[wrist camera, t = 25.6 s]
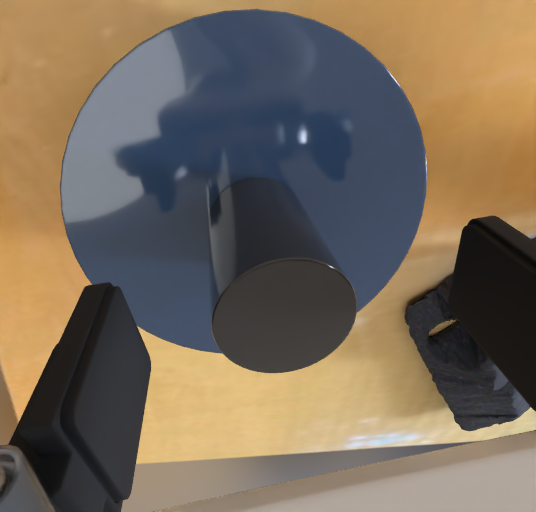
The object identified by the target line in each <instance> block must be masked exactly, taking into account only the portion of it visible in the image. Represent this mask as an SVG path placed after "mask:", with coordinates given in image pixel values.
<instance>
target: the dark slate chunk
mask: <svg viewBox="0 0 536 512" xmlns="http://www.w3.org/2000/svg"><path fill="white" fill-rule="evenodd" d="M533 241H535V242H536V238H535V239H534V240H533ZM452 279H453V274H452V275H451V276H449V277H448V278H447V279H446V280H445V281H444V283H442V284H441V286H440V287H438V289H436V290H431V291H429V293H428V294H427V295H425V296H424V297H423V299H422V300H421V301H418V302H416V303H415V304H414V305H410V306H409V307H408V309H407V311H406V314H405V320H406V321H405V322H406V324H407V325H409V332H410V336H411V337H412V338H413V340H414V342H415V344H416V345H417V348H418V351H419V353H420V355H421V357H422V359H423V361H424V362H425V364H426V367H427V368H429V372H430V373H431V374H432V379H433V381H434V382H435V383H436V386H437V389H438V391H439V393H440V394H441V395H442V396H443V397H444V399H445V401H446V403H447V404H448V406H449V408H450V410H451V411H452V412H453V414H454V419H455V422H456V423H457V424H459V425H460V427H461V429H463V430H466V431H474V430H477V429H480V428H484V427H490V426H492V425H493V424H497V423H498V424H499V425H500V424H502V423H505V422H510V421H513V420H515V419H517V418H519V417H520V416H521V415H522V414H523V413H524V412H526V411H527V410H528V409H529V408H530V407H531V406H530V405H529V404H528V403H527V402H526V401H525V399H524V398H523V397H522V396H521V395H520V393H519V392H518V391H517V390H516V389H515V388H514V386H513V385H512V384H511V383H510V382H509V380H508V379H507V378H506V377H505V376H504V375H503V373H502V372H501V371H500V370H499V369H498V367H497V366H496V365H495V364H494V363H493V362H492V360H491V359H490V358H489V357H488V356H487V354H486V353H485V352H484V351H483V350H482V349H481V347H480V346H479V345H478V344H477V343H476V341H475V340H474V339H473V338H472V337H471V336H470V334H469V333H468V332H467V331H466V330H465V329H464V327H463V326H462V325H461V324H460V323H459V321H457V322H455V323H454V324H453V325H452V326H450V327H448V328H446V329H445V330H443V331H442V332H440V333H439V334H436V335H435V336H433V337H429V336H428V334H429V332H430V331H431V330H432V329H433V328H434V327H436V326H437V325H438V324H440V323H442V322H445V321H448V320H451V319H452V320H455V319H456V318H455V317H454V316H453V314H452V313H451V311H450V309H449V306H448V298H449V293H450V288H451V284H452Z"/></svg>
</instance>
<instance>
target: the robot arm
mask: <svg viewBox="0 0 536 512" xmlns="http://www.w3.org/2000/svg"><path fill="white" fill-rule="evenodd" d="M448 306H449V309H450V311H451V313H452V314H453V316H454V317H455V318H456V319H457V320H458V321H459V323H460V324H461V325H462V326H463V327H464V329H465V330H466V331H467V332H468V333H469V334H470V336H471V337H472V338H473V339H474V340H475V341H476V343H477V344H478V345H479V346H480V347H481V349H482V350H483V351H484V352H485V353H486V354H487V356H488V357H489V358H490V359H491V360H492V362H493V363H494V364H495V365H496V366H497V367H498V369H499V370H500V371H501V372H502V373H503V375H504V376H505V377H506V378H507V379H508V380H509V382H510V383H511V384H512V385H513V386H514V388H515V389H516V390H517V391H518V392H519V393H520V395H521V396H522V397H523V398H524V399H525V401H526V402H527V403H528V404H529V405H530V406H531V408H532V409H533V410H534V411H536V242H535V241H533V240H532V239H530V238H528V237H527V236H525V235H524V234H522V233H521V232H519V231H518V230H516V229H515V228H513V227H512V226H510V225H509V224H507V223H506V222H504V221H503V220H501V219H500V218H498V217H496V216H488V217H482V218H476V219H472V220H470V221H469V223H468V225H467V226H465V227H464V228H463V230H462V234H461V239H460V244H459V249H458V254H457V259H456V264H455V269H454V274H453V279H452V284H451V288H450V293H449V298H448ZM150 372H151V360H150V356H149V354H148V351H147V349H146V347H145V344H144V342H143V340H142V337H141V335H140V333H139V330H138V328H137V325H136V323H135V321H134V318H133V316H132V314H131V311H130V309H129V307H128V304H127V302H126V299H125V297H124V295H123V292H122V290H121V288H120V287H119V286H115V287H113V285H112V284H111V283H110V282H106V283H100V284H94V285H88V286H86V287H85V288H84V289H83V292H82V294H81V296H80V298H79V300H78V302H77V305H76V307H75V309H74V311H73V313H72V315H71V317H70V320H69V322H68V324H67V326H66V328H65V330H64V333H63V335H62V337H61V339H60V341H59V343H58V344H57V345H56V346H55V348H54V349H53V351H52V353H51V355H50V358H49V360H48V362H47V364H46V366H45V368H44V370H43V372H42V375H41V377H40V379H39V381H38V383H37V385H36V387H35V389H34V391H33V394H32V396H31V398H30V400H29V402H28V404H27V406H26V408H25V411H24V413H23V415H22V417H21V419H20V421H19V423H18V425H17V428H16V430H15V432H14V434H13V436H12V438H11V440H10V442H9V444H8V445H1V446H0V512H121V507H122V502H123V500H125V499H128V498H129V496H130V494H131V489H132V484H133V477H134V470H135V465H136V459H137V453H138V446H139V440H140V434H141V428H142V422H143V416H144V409H145V403H146V397H147V391H148V385H149V378H150ZM154 512H536V430H534V431H529V432H524V433H519V434H514V435H509V436H504V437H499V438H494V439H490V440H485V441H480V442H475V443H470V444H465V445H460V446H456V447H451V448H446V449H441V450H436V451H431V452H427V453H422V454H417V455H412V456H407V457H403V458H398V459H393V460H388V461H384V462H379V463H374V464H369V465H365V466H360V467H356V468H350V469H345V470H341V471H336V472H331V473H327V474H322V475H317V476H313V477H308V478H303V479H299V480H294V481H289V482H285V483H280V484H275V485H271V486H266V487H261V488H257V489H252V490H247V491H243V492H238V493H233V494H229V495H224V496H219V497H215V498H210V499H205V500H201V501H196V502H192V503H188V504H184V505H180V506H175V507H171V508H166V509H162V510H158V511H154Z"/></svg>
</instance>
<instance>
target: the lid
mask: <svg viewBox="0 0 536 512" xmlns="http://www.w3.org/2000/svg"><path fill="white" fill-rule="evenodd" d="M426 187H427V163H426V151H425V146H424V142H423V137H422V133H421V129H420V126H419V123H418V121H417V118H416V115H415V113H414V110H413V108H412V105H411V104H410V102H409V100H408V98H407V97H406V95H405V93H404V91H403V90H402V88H401V86H400V85H399V83H398V82H397V81H396V80H395V78H394V77H393V76H392V74H391V73H390V72H389V71H388V69H387V68H386V67H385V66H384V65H383V64H382V63H381V62H380V61H379V60H378V59H377V58H376V57H375V56H374V55H372V54H371V53H370V52H369V51H368V50H367V49H366V48H365V47H363V46H362V45H360V44H359V43H357V42H356V41H354V40H353V39H351V38H350V37H348V36H347V35H345V34H344V33H342V32H340V31H338V30H336V29H334V28H332V27H329V26H327V25H325V24H323V23H320V22H318V21H316V20H313V19H309V18H305V17H302V16H298V15H294V14H291V13H287V12H278V11H269V10H259V9H250V10H232V11H222V12H217V13H213V14H208V15H203V16H199V17H194V18H192V19H189V20H187V21H184V22H181V23H179V24H176V25H174V26H171V27H168V28H166V29H164V30H162V31H160V32H159V33H157V34H155V35H154V36H152V37H150V38H148V39H147V40H145V41H143V42H142V43H140V44H138V45H137V46H136V47H135V48H133V49H132V50H131V51H130V52H128V53H127V54H126V55H125V56H124V57H122V58H121V59H120V60H119V61H117V62H116V63H115V64H114V65H113V66H112V67H111V68H110V70H109V71H108V72H107V73H106V74H105V75H104V76H103V78H102V79H101V80H100V81H99V82H98V83H97V84H96V85H95V87H94V88H93V90H92V91H91V93H90V95H89V96H88V98H87V99H86V101H85V103H84V104H83V106H82V107H81V109H80V110H79V113H78V115H77V117H76V120H75V122H74V125H73V127H72V129H71V132H70V134H69V136H68V140H67V144H66V148H65V152H64V156H63V160H62V170H61V181H60V195H61V209H62V215H63V220H64V224H65V229H66V233H67V237H68V239H69V242H70V244H71V247H72V250H73V252H74V255H75V257H76V259H77V261H78V263H79V264H80V266H81V268H82V270H83V272H84V273H85V275H86V277H87V278H88V279H89V281H90V282H91V283H92V285H94V284H100V283H106V282H110V283H111V284H112V285H113V287H115V286H119V287H120V288H121V290H122V292H123V295H124V297H125V299H126V302H127V304H128V307H129V309H130V311H131V314H132V316H133V318H134V321H135V323H136V325H137V326H138V327H140V328H142V329H143V330H145V331H146V332H149V333H151V334H153V335H155V336H157V337H159V338H161V339H163V340H166V341H169V342H171V343H174V344H177V345H180V346H183V347H187V348H191V349H196V350H200V351H206V352H214V353H223V354H224V355H225V356H226V357H227V358H228V359H229V360H231V361H232V362H234V363H235V364H237V365H239V366H241V367H243V368H246V369H249V370H252V371H257V372H263V373H283V372H290V371H294V370H298V369H302V368H305V367H308V366H310V365H312V364H314V363H317V362H318V361H320V360H322V359H324V358H325V357H327V356H328V355H329V354H331V353H332V352H333V351H334V350H335V349H337V348H338V347H339V346H340V345H341V343H342V342H343V341H344V340H345V339H346V337H347V336H348V334H349V332H350V331H351V329H352V327H353V324H354V322H355V318H356V313H357V312H359V311H360V310H361V309H362V308H363V307H364V306H365V305H367V304H368V303H369V302H370V301H371V300H372V299H373V298H374V297H375V296H376V295H377V294H378V293H379V292H380V291H381V290H382V289H383V288H384V287H385V285H386V284H387V283H388V282H389V280H390V279H391V278H392V276H393V275H394V274H395V272H396V271H397V270H398V268H399V266H400V265H401V263H402V261H403V260H404V258H405V256H406V255H407V253H408V251H409V249H410V247H411V244H412V242H413V240H414V238H415V236H416V233H417V230H418V227H419V224H420V220H421V217H422V214H423V208H424V203H425V198H426Z"/></svg>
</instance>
